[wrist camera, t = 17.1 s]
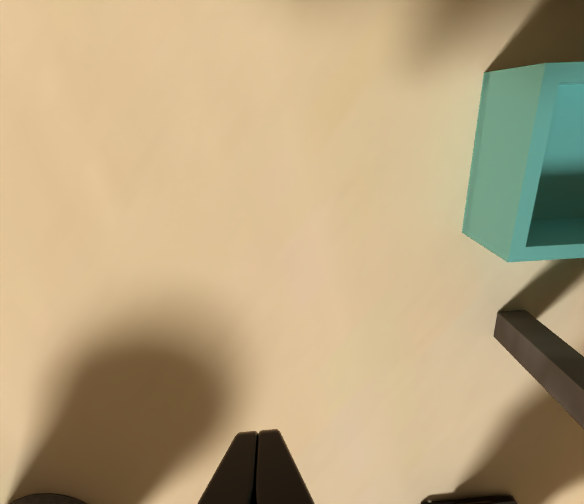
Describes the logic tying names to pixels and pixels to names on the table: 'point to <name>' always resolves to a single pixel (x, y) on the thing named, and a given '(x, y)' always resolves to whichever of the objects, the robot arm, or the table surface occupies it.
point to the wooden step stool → (544, 358)
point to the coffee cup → (47, 499)
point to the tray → (529, 164)
